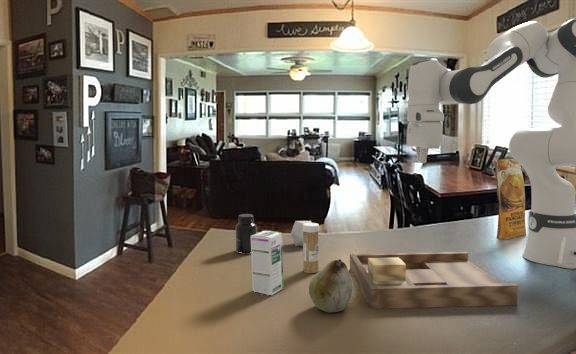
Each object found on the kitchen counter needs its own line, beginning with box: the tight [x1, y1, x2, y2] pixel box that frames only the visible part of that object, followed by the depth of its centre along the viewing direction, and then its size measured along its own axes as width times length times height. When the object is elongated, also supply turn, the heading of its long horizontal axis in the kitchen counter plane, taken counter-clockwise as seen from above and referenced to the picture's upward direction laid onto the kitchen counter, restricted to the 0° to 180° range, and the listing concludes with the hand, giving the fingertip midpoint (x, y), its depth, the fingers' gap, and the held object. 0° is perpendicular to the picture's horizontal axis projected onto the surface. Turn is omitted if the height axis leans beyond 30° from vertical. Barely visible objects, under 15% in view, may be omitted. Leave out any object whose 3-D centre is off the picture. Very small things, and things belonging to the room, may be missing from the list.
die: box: [290, 220, 313, 247], centre depth 153 cm, size 8×9×10 cm
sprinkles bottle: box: [302, 222, 320, 274], centre depth 125 cm, size 5×5×14 cm
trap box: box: [349, 251, 519, 310], centre depth 114 cm, size 33×27×4 cm
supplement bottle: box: [235, 213, 258, 253], centre depth 145 cm, size 7×7×12 cm
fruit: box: [308, 258, 354, 314], centre depth 100 cm, size 10×9×12 cm
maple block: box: [368, 257, 406, 281], centre depth 113 cm, size 8×6×4 cm
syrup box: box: [250, 230, 284, 296], centre depth 111 cm, size 6×6×14 cm
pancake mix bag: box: [494, 158, 527, 240], centre depth 162 cm, size 7×19×28 cm, turn 123°
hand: (421, 162), depth 134 cm, fingers closed
